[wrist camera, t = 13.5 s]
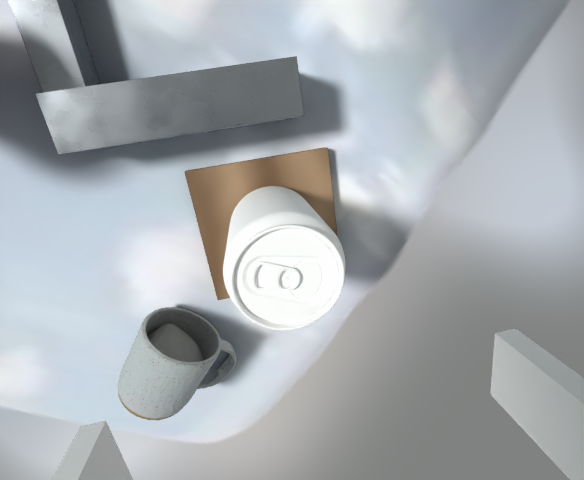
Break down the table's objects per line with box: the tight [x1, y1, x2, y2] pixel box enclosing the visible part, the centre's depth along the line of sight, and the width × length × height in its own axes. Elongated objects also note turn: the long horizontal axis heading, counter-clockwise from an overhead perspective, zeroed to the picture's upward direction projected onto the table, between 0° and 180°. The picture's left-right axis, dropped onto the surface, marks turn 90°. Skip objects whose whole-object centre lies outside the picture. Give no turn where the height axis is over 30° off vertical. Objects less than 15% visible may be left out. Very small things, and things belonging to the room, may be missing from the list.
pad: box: [185, 148, 337, 300], centre depth 32 cm, size 13×13×1 cm
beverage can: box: [223, 186, 346, 330], centre depth 26 cm, size 8×8×12 cm
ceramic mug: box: [118, 307, 237, 420], centre depth 32 cm, size 11×8×8 cm
